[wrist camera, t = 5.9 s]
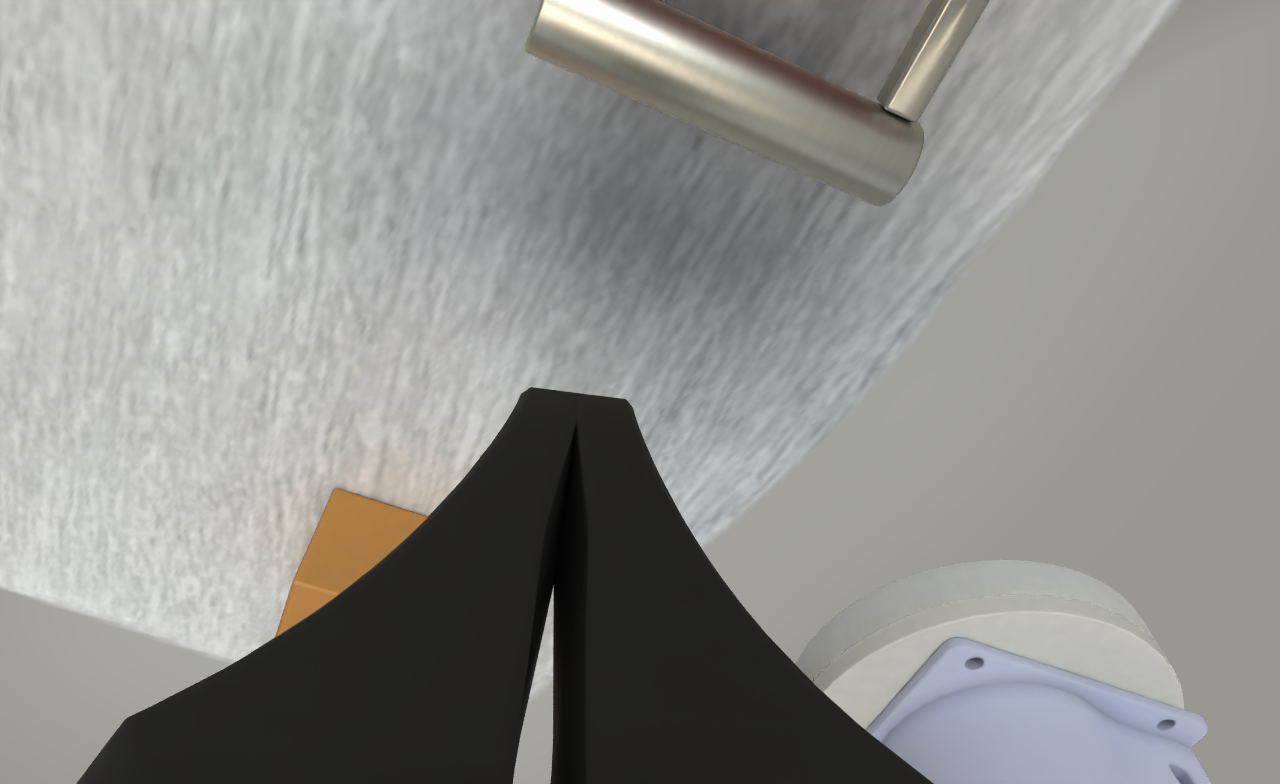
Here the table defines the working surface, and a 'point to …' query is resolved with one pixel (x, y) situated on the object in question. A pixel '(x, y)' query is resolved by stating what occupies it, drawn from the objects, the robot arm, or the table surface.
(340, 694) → the robot arm
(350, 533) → the orange brown cube
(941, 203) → the table surface
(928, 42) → the drawer
